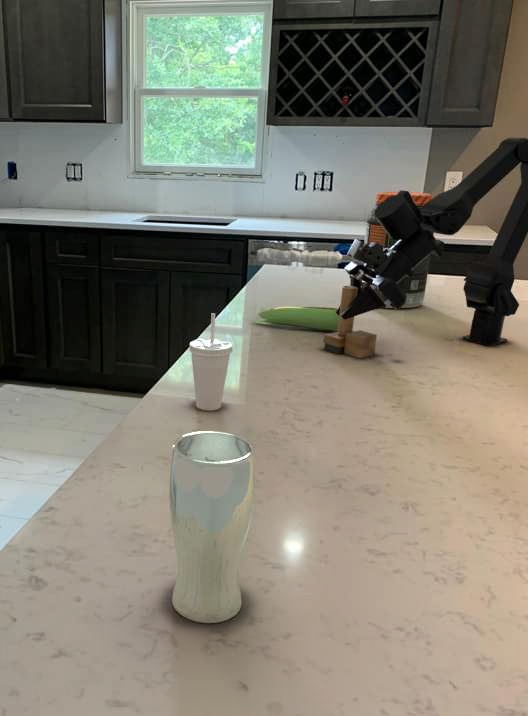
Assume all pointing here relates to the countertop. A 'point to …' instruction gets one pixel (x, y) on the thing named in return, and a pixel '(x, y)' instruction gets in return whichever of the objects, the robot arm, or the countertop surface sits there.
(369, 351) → the cork block
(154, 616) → the countertop surface
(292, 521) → the countertop surface
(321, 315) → the edible corn
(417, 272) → the supplement tub
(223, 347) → the smoothie
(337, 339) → the brush
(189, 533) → the beer glass
